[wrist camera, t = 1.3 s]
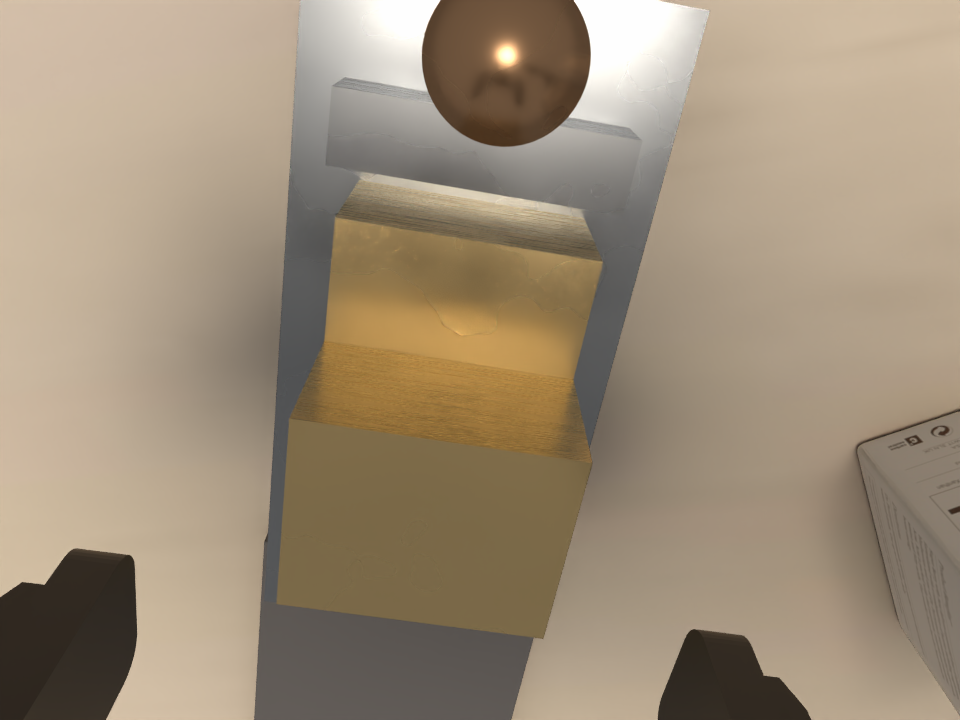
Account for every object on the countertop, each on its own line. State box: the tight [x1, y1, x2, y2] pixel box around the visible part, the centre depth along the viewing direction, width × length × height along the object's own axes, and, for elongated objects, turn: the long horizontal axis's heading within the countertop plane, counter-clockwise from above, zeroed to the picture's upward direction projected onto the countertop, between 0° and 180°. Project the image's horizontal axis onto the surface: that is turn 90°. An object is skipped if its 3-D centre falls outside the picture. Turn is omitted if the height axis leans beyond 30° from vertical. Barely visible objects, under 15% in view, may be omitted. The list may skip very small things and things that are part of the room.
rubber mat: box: [254, 534, 534, 720], centre depth 29 cm, size 10×11×1 cm
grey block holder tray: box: [264, 0, 710, 635], centre depth 18 cm, size 8×17×10 cm, turn 170°
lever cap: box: [276, 180, 603, 639], centre depth 16 cm, size 5×9×6 cm, turn 170°
